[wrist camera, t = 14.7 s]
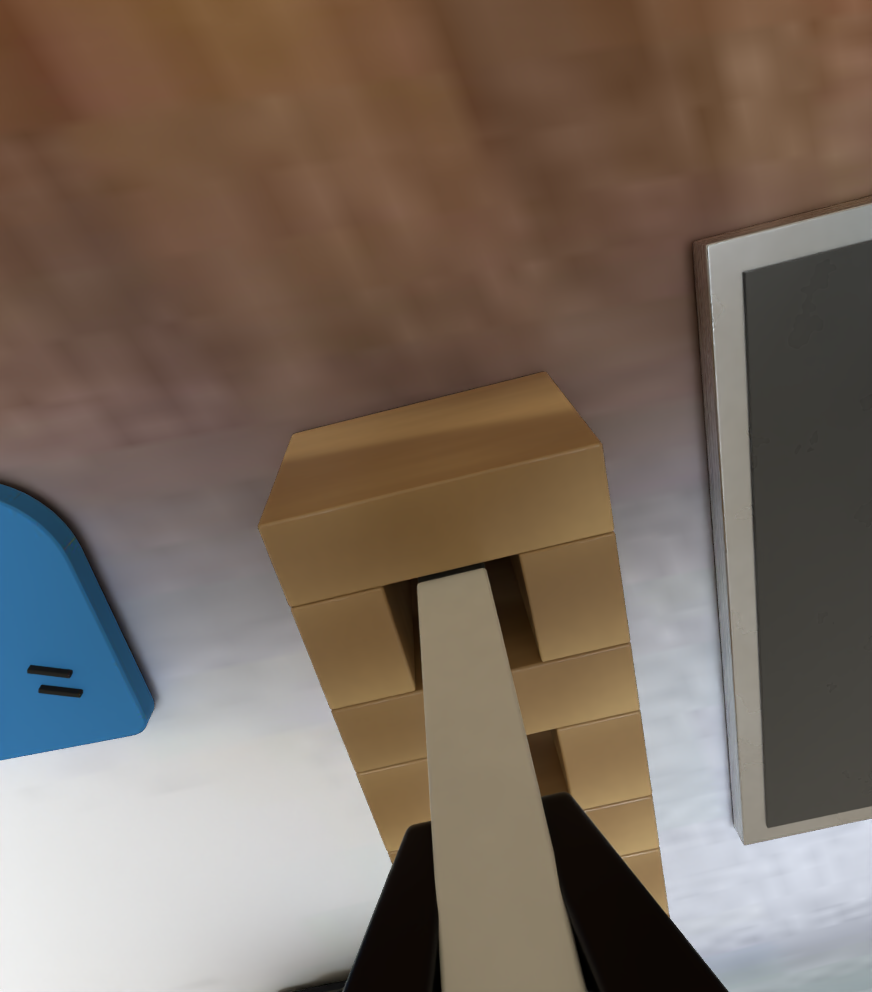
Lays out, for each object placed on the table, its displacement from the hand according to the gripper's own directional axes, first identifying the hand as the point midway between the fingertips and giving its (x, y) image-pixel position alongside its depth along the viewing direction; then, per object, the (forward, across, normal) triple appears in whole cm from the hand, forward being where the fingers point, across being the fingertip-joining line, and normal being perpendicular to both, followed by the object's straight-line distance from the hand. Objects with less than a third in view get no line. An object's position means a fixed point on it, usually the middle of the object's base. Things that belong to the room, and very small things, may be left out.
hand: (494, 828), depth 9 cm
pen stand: (+10, 0, +5) cm, 11 cm away
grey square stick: (+6, 0, 0) cm, 6 cm away
